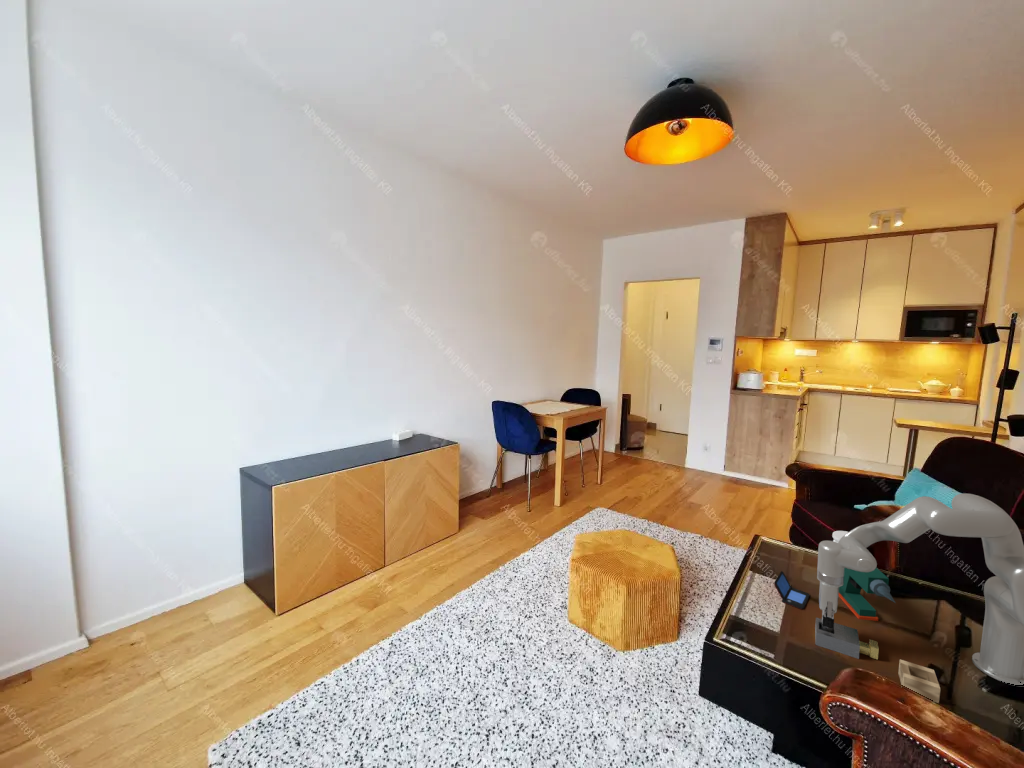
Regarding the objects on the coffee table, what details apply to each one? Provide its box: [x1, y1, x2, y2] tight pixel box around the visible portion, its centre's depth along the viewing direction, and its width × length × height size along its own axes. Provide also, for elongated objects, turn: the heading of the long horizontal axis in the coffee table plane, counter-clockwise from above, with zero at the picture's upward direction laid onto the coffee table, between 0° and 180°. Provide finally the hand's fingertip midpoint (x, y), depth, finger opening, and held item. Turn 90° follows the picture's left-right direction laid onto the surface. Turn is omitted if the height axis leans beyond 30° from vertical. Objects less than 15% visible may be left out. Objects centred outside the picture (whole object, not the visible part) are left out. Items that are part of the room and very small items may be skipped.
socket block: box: [814, 617, 860, 660], centre depth 150 cm, size 12×9×5 cm
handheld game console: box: [773, 570, 810, 610], centre depth 175 cm, size 12×11×7 cm
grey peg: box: [821, 607, 833, 633], centre depth 151 cm, size 3×3×13 cm
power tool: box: [838, 567, 896, 622], centre depth 162 cm, size 32×7×20 cm, turn 168°
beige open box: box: [898, 659, 941, 704], centre depth 131 cm, size 8×8×5 cm
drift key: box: [833, 633, 879, 660], centre depth 147 cm, size 12×4×4 cm, turn 55°
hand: (827, 623), depth 151 cm, fingers closed on grey peg, 3 cm apart
